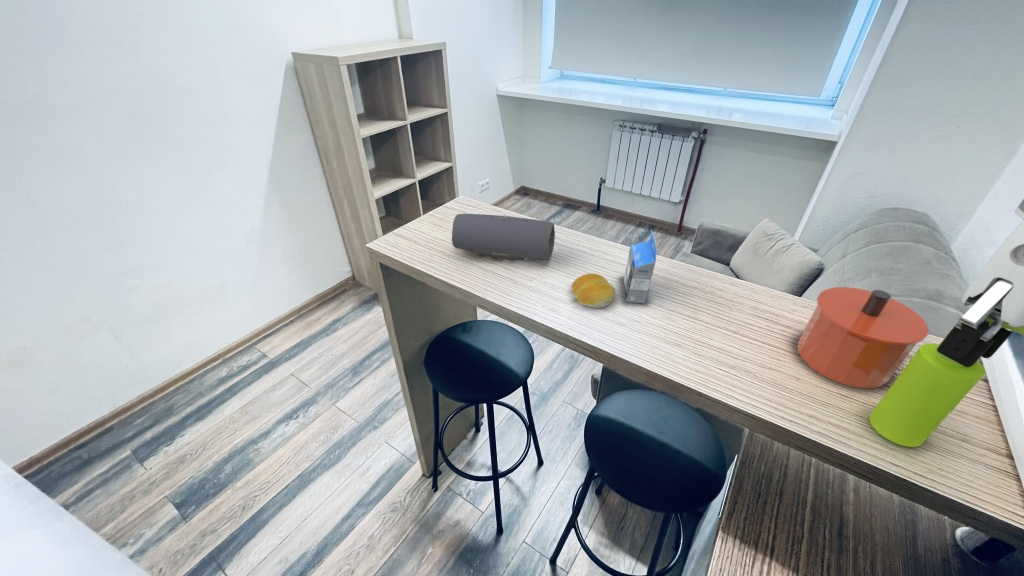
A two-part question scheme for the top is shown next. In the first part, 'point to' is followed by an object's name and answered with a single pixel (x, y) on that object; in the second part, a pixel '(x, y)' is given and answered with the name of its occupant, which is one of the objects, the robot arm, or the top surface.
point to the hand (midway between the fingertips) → (963, 353)
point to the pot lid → (872, 315)
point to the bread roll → (593, 291)
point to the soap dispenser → (925, 394)
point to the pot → (848, 354)
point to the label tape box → (640, 270)
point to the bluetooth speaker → (503, 236)
